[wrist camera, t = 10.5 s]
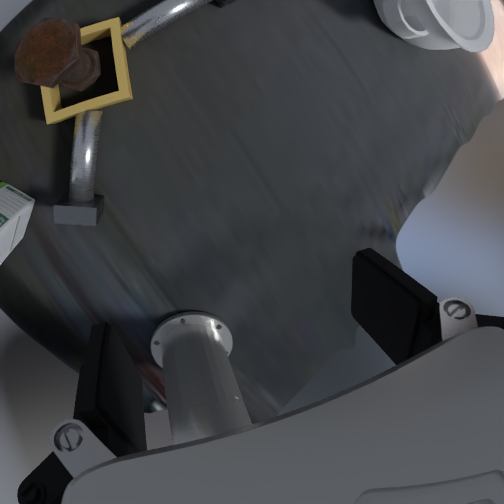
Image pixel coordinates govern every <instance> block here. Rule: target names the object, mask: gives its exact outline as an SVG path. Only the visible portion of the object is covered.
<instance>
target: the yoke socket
mask: <svg viewBox="0 0 504 504" xmlns="http://www.w3.org/2000/svg"><path fill="white" fill-rule="evenodd" d="M121 26H122V24H121V21H120V19H119V17H117V18H113V19H110V20H106V21H103V22H99V23H96V24H93V25H90V26H87V27H84V28H81V29H80V31H81V45H84V44H87V43H90V42H93V41H96V40H99V39H103V38H106V37H109V36H111V38H112V46H113V54H114V61H115V68H116V75H117V81H118V87H119V91H116V92H113V93H109V94H106V95H103V96H99V97H96V98H93V99H90V100H87V101H84V102H81V103H78V104H75V105H72V106H69V107H67V108H64V109H62V105H61V99H60V93H59V87H58V84H57V85H56V86H55V87H54V88H49V87H44V86H41V92H42V99H43V105H44V111H45V116H46V122H47V124H53V123H58V122H61V121H64V120H66V119H69V118H72V117H75V116H76V114H77V113H80V112H82V111H85V110H90V111H93V110H96V109H99V108H102V107H106V106H109V105H112V104H116V103H120V102H123V101H127V100H131V99H133V97H132V91H131V85H130V79H129V72H128V66H127V59H126V52H125V44H124V42H123V40H122V38H121V31H120V27H121Z"/></svg>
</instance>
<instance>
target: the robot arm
mask: <svg viewBox="0 0 504 504" xmlns="http://www.w3.org/2000/svg"><path fill="white" fill-rule="evenodd" d="M351 313H352V316H353V317H354V319H355V320H356V321H357V322H358V323H359V324H360V325H361V326H362V328H364V330H365V331H366V332H367V333H368V334H369V335H370V336H371V337H372V338H373V340H374V341H375V342H376V343H377V344H378V345H379V346H380V347H381V348H382V350H383V351H384V352H385V353H386V354H387V355H388V356H389V357H390V358H391V360H392V361H393V362H394V363H395V364H396V366H394V367H392V368H391V369H388V370H386V371H384V372H382V373H381V374H378V375H376V376H374V377H372V378H370V379H368V380H366V381H364V382H362V383H359V384H357V385H355V386H353V387H351V388H348V389H346V390H344V391H341V392H339V393H337V394H334V395H332V396H329V397H327V398H325V399H322V400H320V401H317V402H315V403H312V404H309V405H307V406H304V407H302V408H299V409H296V410H294V411H291V412H288V413H285V414H282V415H279V416H277V417H274V418H271V419H268V420H265V421H261V422H258V423H255V424H251V421H250V418H249V416H248V413H247V410H246V407H245V405H244V402H243V399H242V396H241V394H240V391H239V388H238V385H237V382H236V379H235V376H234V374H233V371H232V368H231V365H230V362H229V359H228V356H229V355H230V352H231V350H232V344H233V341H232V336H231V333H230V330H229V329H228V327H227V325H226V324H225V323H224V322H223V321H222V320H220V319H219V318H218V317H216V316H214V315H211V314H208V313H204V312H196V311H194V312H184V313H179V314H176V315H174V316H171V317H169V318H168V319H166V320H164V321H163V322H162V323H161V324H160V325H159V326H158V327H157V328H156V329H155V331H154V333H153V335H152V338H151V352H152V356H153V358H154V360H155V361H156V363H157V364H158V365H159V366H160V367H162V368H163V375H164V384H165V393H166V401H167V408H168V415H169V423H170V429H171V436H172V440H173V442H174V445H172V446H167V447H163V448H158V449H152V450H147V445H146V434H145V422H144V407H143V388H142V379H141V376H140V374H139V372H138V370H137V368H136V366H135V365H134V363H133V361H132V359H131V357H130V355H129V354H128V352H127V350H126V348H125V346H124V344H123V342H122V340H121V338H120V336H119V334H118V332H117V330H116V328H115V326H114V325H113V324H112V325H109V323H108V322H103V323H99V324H95V325H92V328H91V333H90V338H89V343H88V348H87V353H86V359H85V363H83V364H82V366H81V369H80V375H79V381H78V388H77V394H76V401H75V408H74V416H73V419H68V420H65V421H63V422H61V423H60V424H58V425H57V426H56V427H55V428H54V430H53V432H52V434H51V438H50V444H51V447H52V450H53V452H52V453H51V454H50V455H49V456H48V457H47V458H46V459H45V460H44V461H43V462H42V463H41V464H40V465H39V466H38V467H37V468H36V469H35V470H33V471H32V472H31V474H30V475H28V476H27V477H26V478H25V479H24V480H23V481H22V483H21V484H20V486H19V489H18V495H17V497H18V502H19V504H504V317H498V316H488V315H479V314H475V311H474V308H473V306H472V305H471V304H470V303H469V302H467V301H466V300H463V299H461V298H447V299H445V300H443V301H442V302H441V303H440V304H439V303H438V302H437V296H435V295H434V294H433V293H432V292H430V291H429V290H428V289H426V288H425V287H424V286H422V285H421V284H420V283H418V282H417V281H416V280H414V279H413V278H412V277H410V276H409V275H408V274H406V273H405V272H404V271H402V270H401V269H399V268H398V267H397V266H395V265H394V264H393V263H391V262H390V261H388V260H387V259H386V258H384V257H383V256H381V255H380V254H379V253H377V252H376V251H374V250H373V249H371V248H367V249H364V250H361V251H358V252H356V254H355V256H354V257H353V266H352V301H351Z"/></svg>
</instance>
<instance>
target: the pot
mask: <svg viewBox="0 0 504 504" xmlns="http://www.w3.org/2000/svg"><path fill="white" fill-rule="evenodd" d="M373 1H374V4H375V7H376V9H377V12H378V15H379V16H380V18H381V21H382V22H383V23H384V24H385V25H386V26H387V27H388V28H389V29H390V30H391V31H392V32H393V33H395V34H396V35H397V36H399V37H400V38H402V39H403V40H405V41H406V42H408V43H409V44H412V45H415V46H418V47H422V48H425V49H434V50H441V49H453V48H459V47H461V48H463V49H465V50H467V51H469V52H482V51H484V50H486V49H487V48H488V47H489V45H490V44H491V42H492V39H493V35H494V15H493V10H492V5H491V2H490V0H373Z"/></svg>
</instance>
